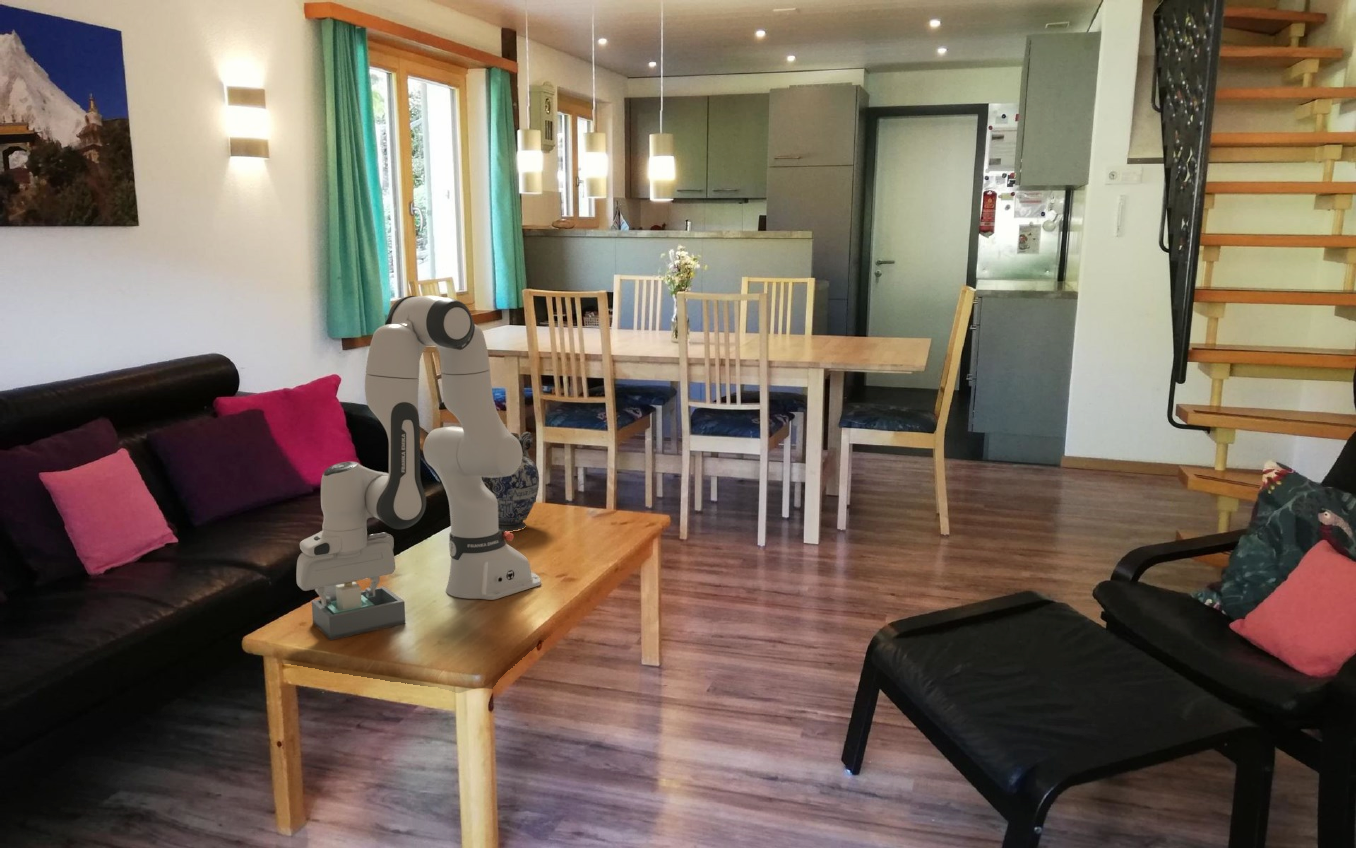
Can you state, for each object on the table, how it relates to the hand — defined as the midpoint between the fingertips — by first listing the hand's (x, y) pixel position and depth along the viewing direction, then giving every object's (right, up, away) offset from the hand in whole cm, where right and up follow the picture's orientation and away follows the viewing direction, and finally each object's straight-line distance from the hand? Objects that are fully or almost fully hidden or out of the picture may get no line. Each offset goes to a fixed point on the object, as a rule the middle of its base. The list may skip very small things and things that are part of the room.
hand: (348, 601), depth 205 cm
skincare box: (-5, -4, +9) cm, 12 cm away
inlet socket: (0, -5, +1) cm, 5 cm away
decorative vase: (+21, +7, +77) cm, 80 cm away
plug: (0, -5, +1) cm, 5 cm away
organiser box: (+2, -5, +2) cm, 6 cm away
